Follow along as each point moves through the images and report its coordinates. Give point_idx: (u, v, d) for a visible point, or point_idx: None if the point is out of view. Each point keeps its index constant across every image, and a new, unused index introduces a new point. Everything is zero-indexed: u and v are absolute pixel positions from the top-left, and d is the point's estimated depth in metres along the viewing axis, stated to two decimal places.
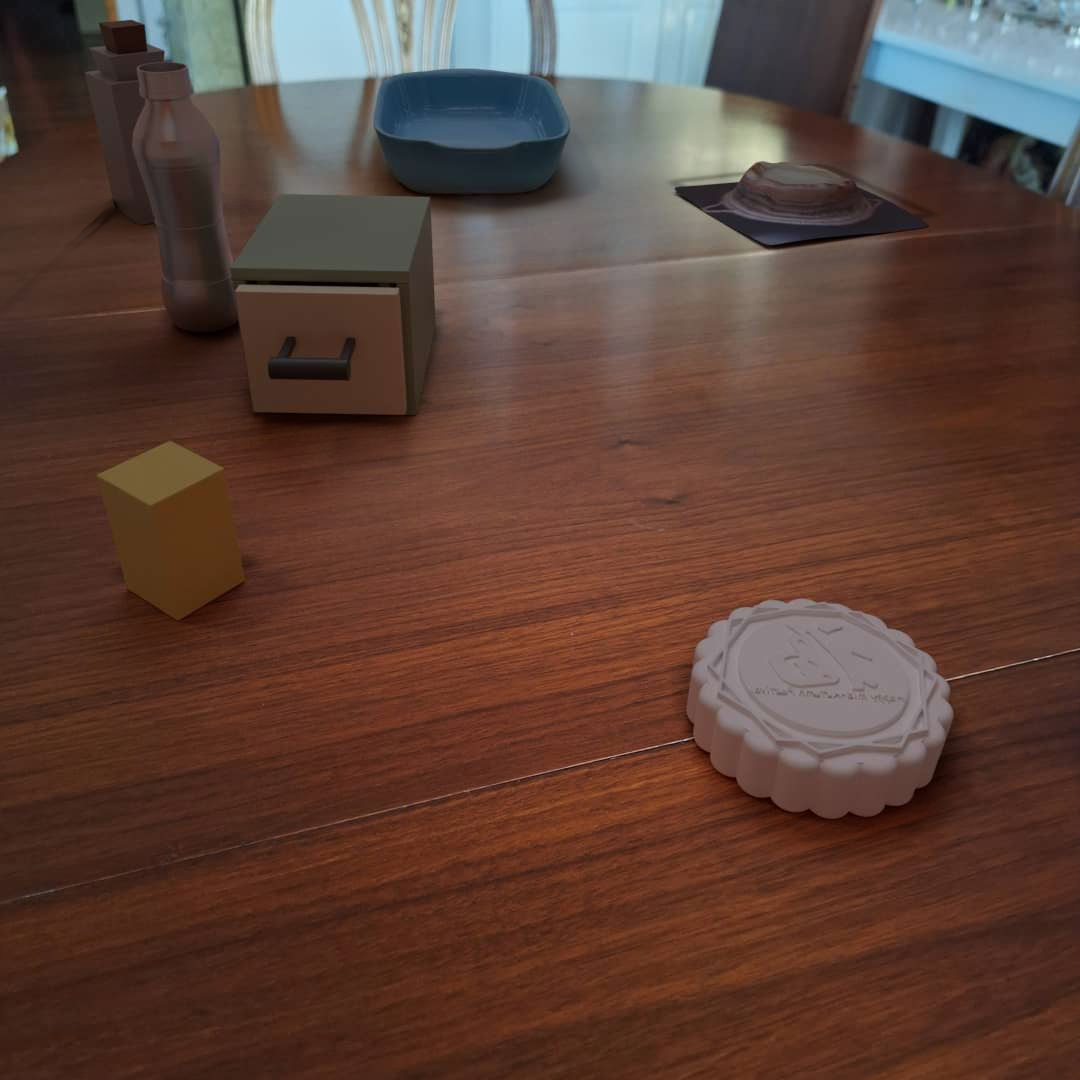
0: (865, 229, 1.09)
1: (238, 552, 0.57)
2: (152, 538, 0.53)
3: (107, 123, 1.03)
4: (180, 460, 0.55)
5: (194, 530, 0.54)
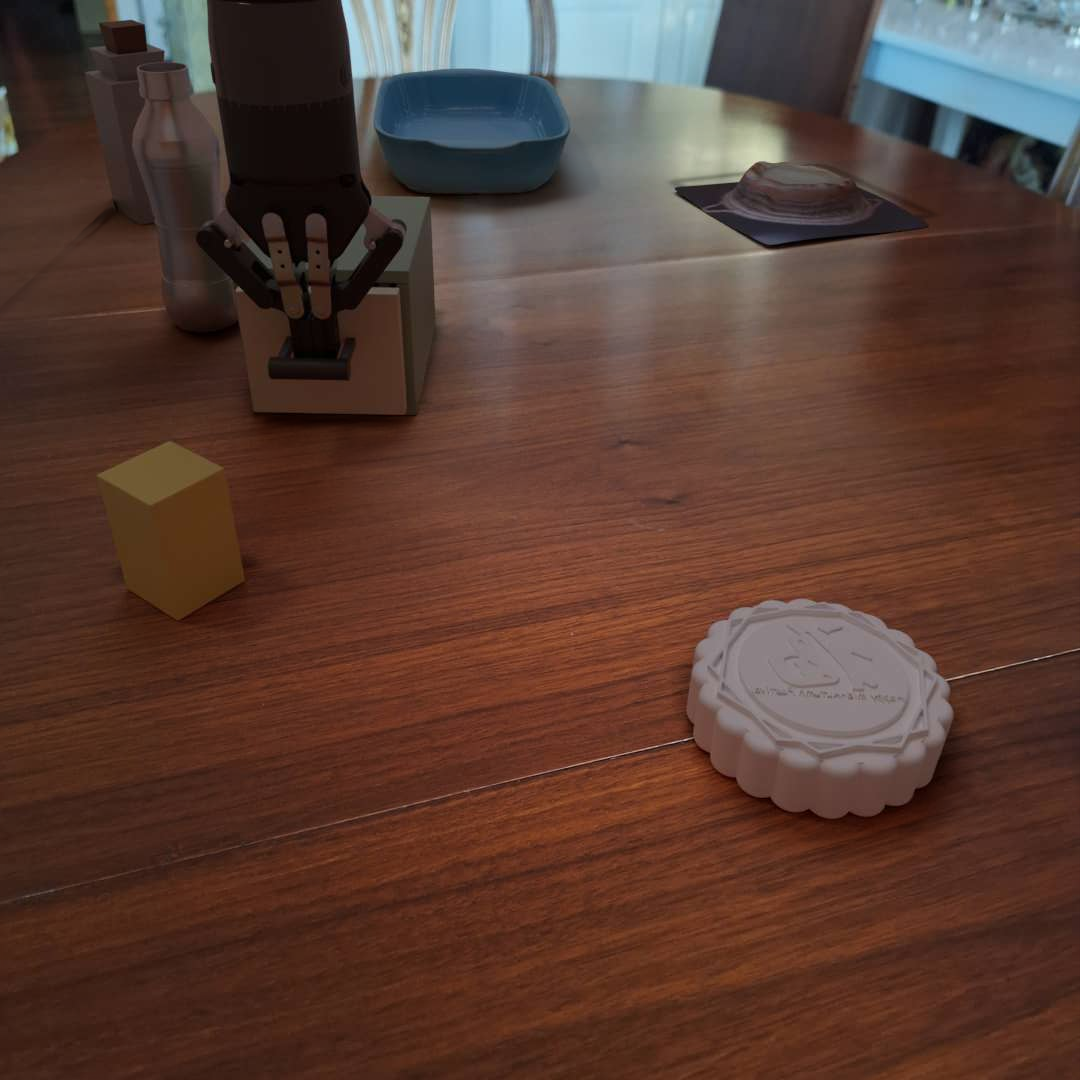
0: (865, 229, 1.08)
1: (238, 552, 0.57)
2: (152, 538, 0.53)
3: (107, 123, 1.03)
4: (180, 460, 0.55)
5: (194, 530, 0.54)
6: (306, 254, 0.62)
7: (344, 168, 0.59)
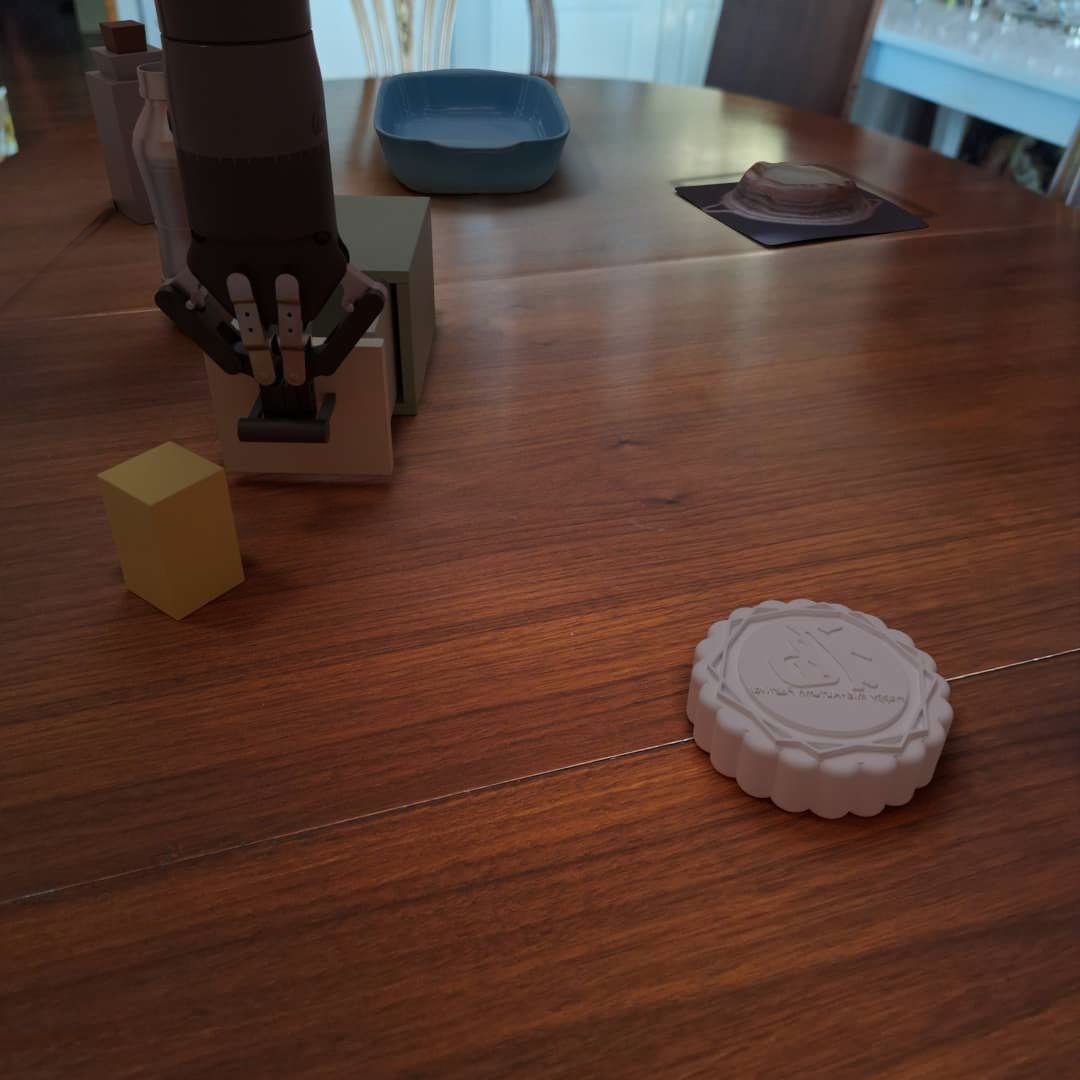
0: (865, 229, 1.09)
1: (238, 552, 0.57)
2: (152, 538, 0.53)
3: (107, 123, 1.03)
4: (180, 460, 0.55)
5: (194, 530, 0.54)
6: (277, 316, 0.56)
7: (317, 225, 0.53)
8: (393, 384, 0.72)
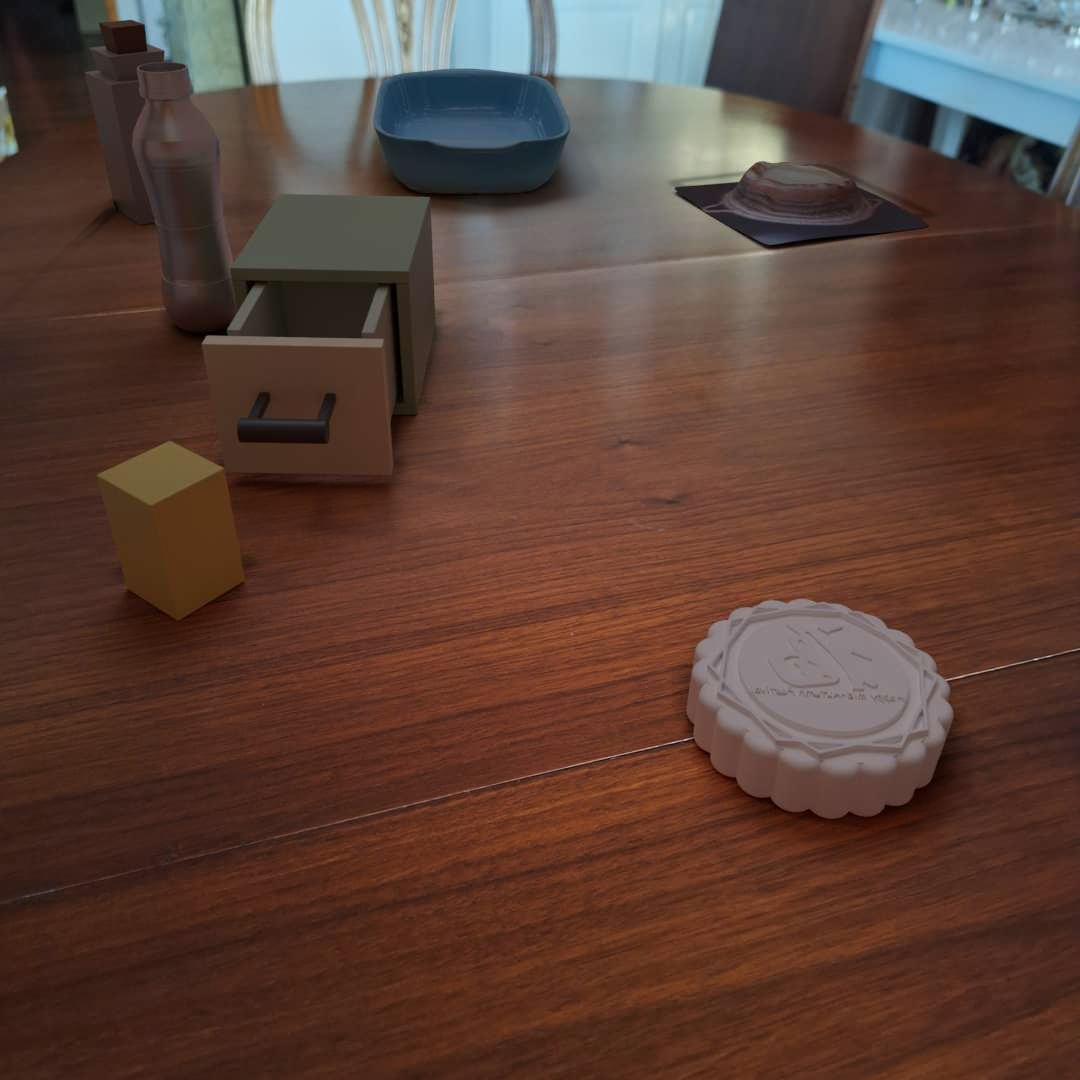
0: (865, 229, 1.09)
1: (238, 552, 0.57)
2: (152, 538, 0.53)
3: (107, 123, 1.03)
4: (180, 460, 0.55)
5: (194, 530, 0.54)
6: None
7: None
8: (393, 384, 0.72)
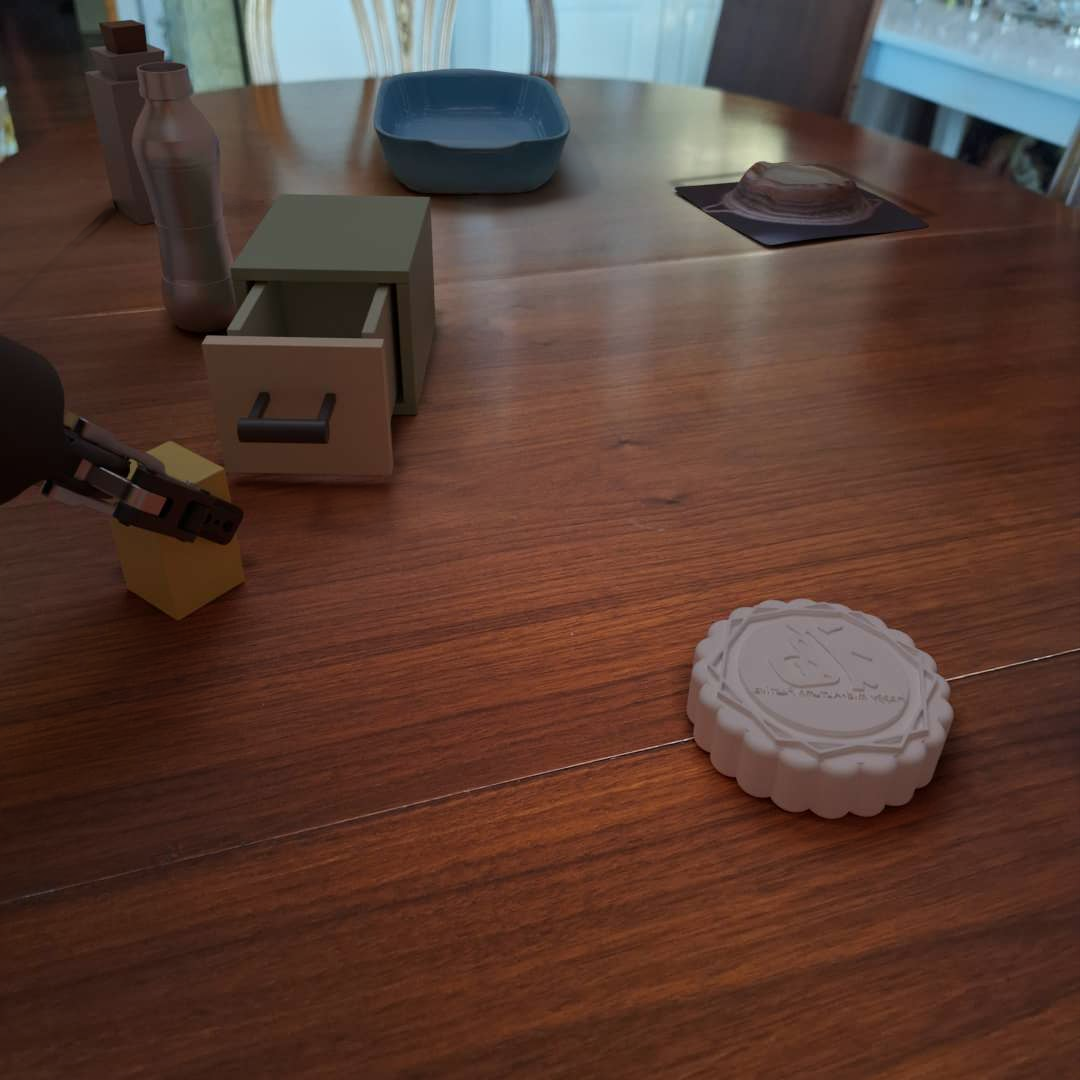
0: (865, 229, 1.09)
1: (238, 552, 0.57)
2: (152, 538, 0.53)
3: (107, 123, 1.03)
4: (180, 460, 0.55)
5: None
6: None
7: (16, 490, 0.44)
8: (393, 384, 0.72)
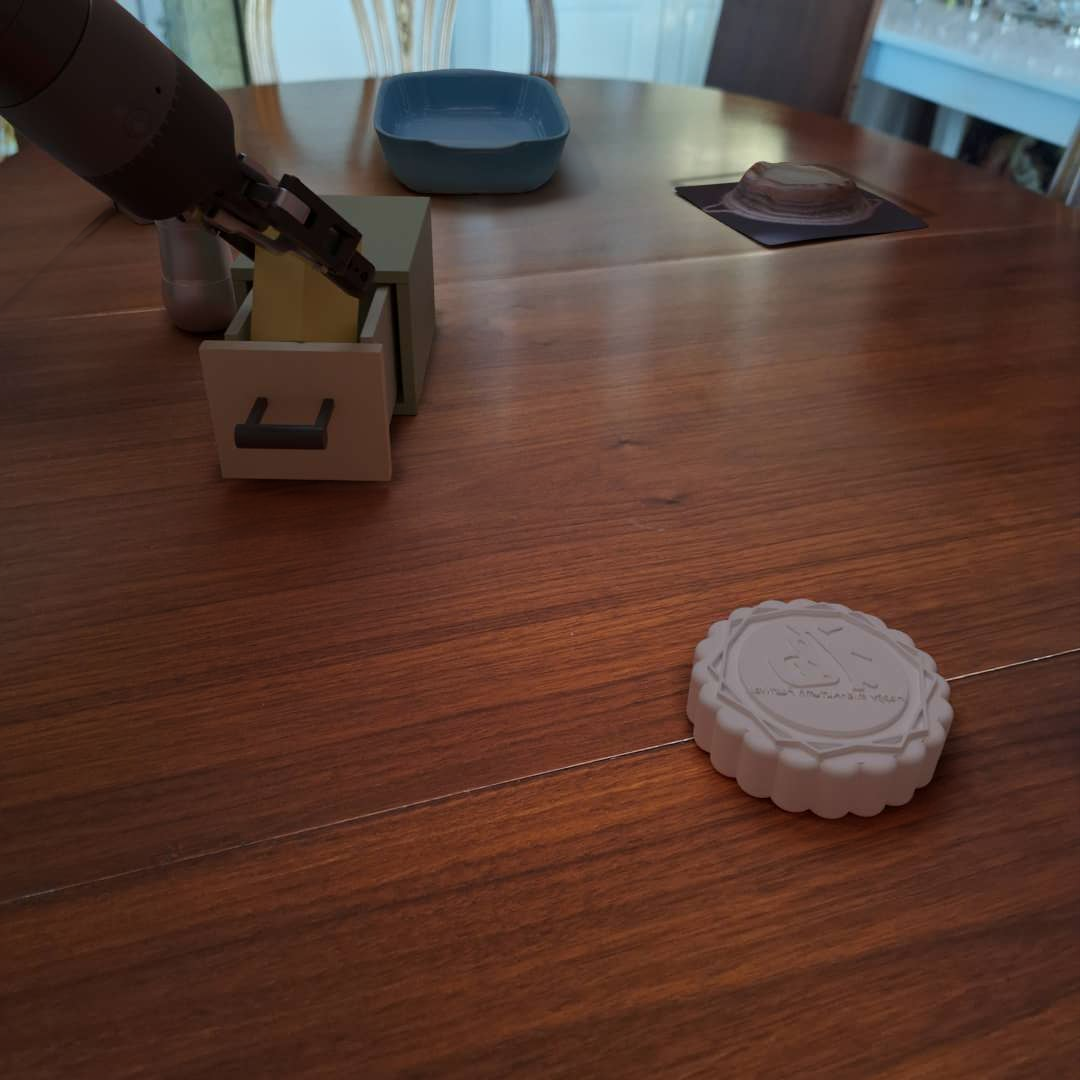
0: (866, 229, 1.09)
1: (356, 320, 0.65)
2: None
3: None
4: None
5: None
6: None
7: (196, 197, 0.51)
8: (392, 389, 0.72)
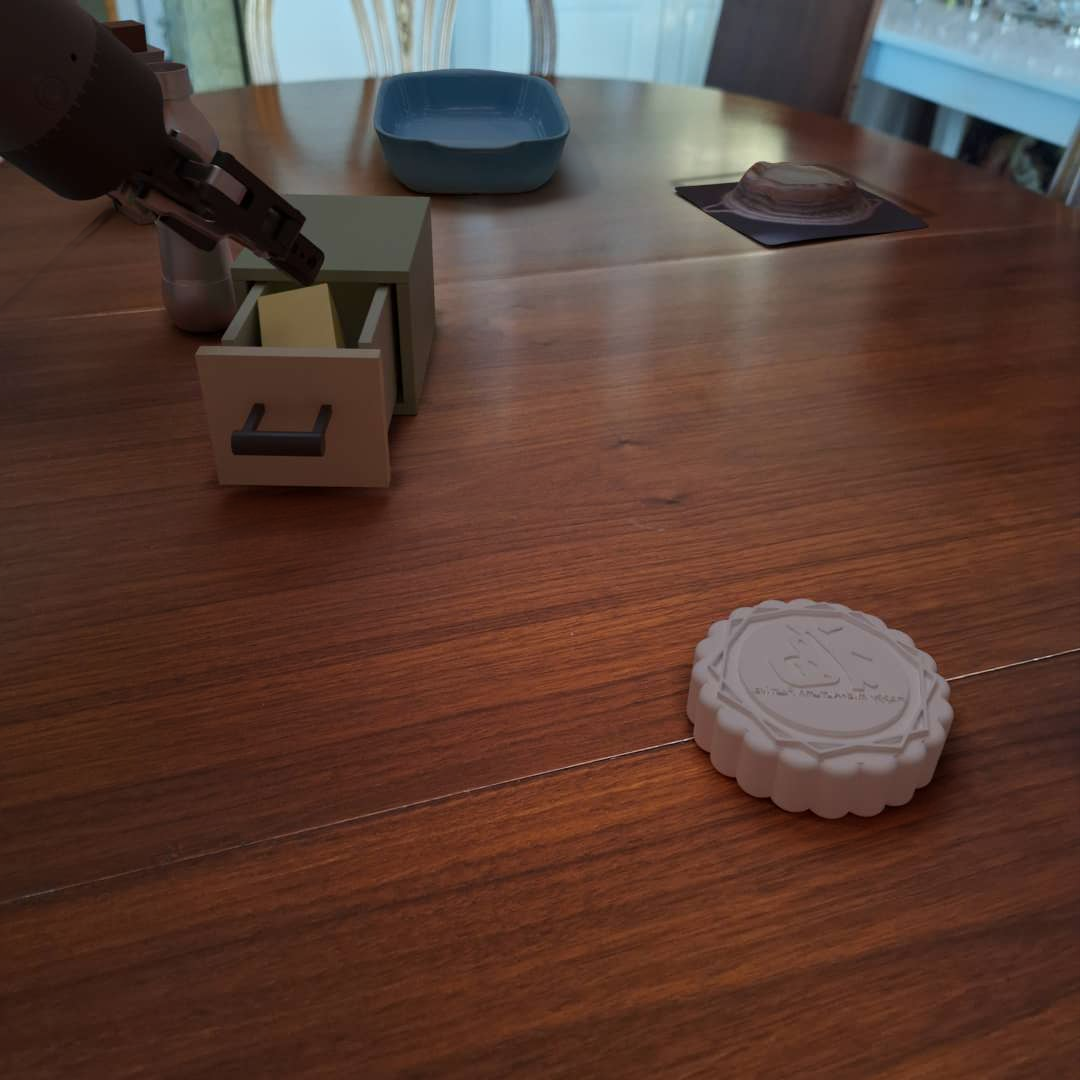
0: (866, 229, 1.09)
1: None
2: (322, 309, 0.66)
3: None
4: None
5: (339, 334, 0.67)
6: None
7: (121, 175, 0.48)
8: (390, 394, 0.71)
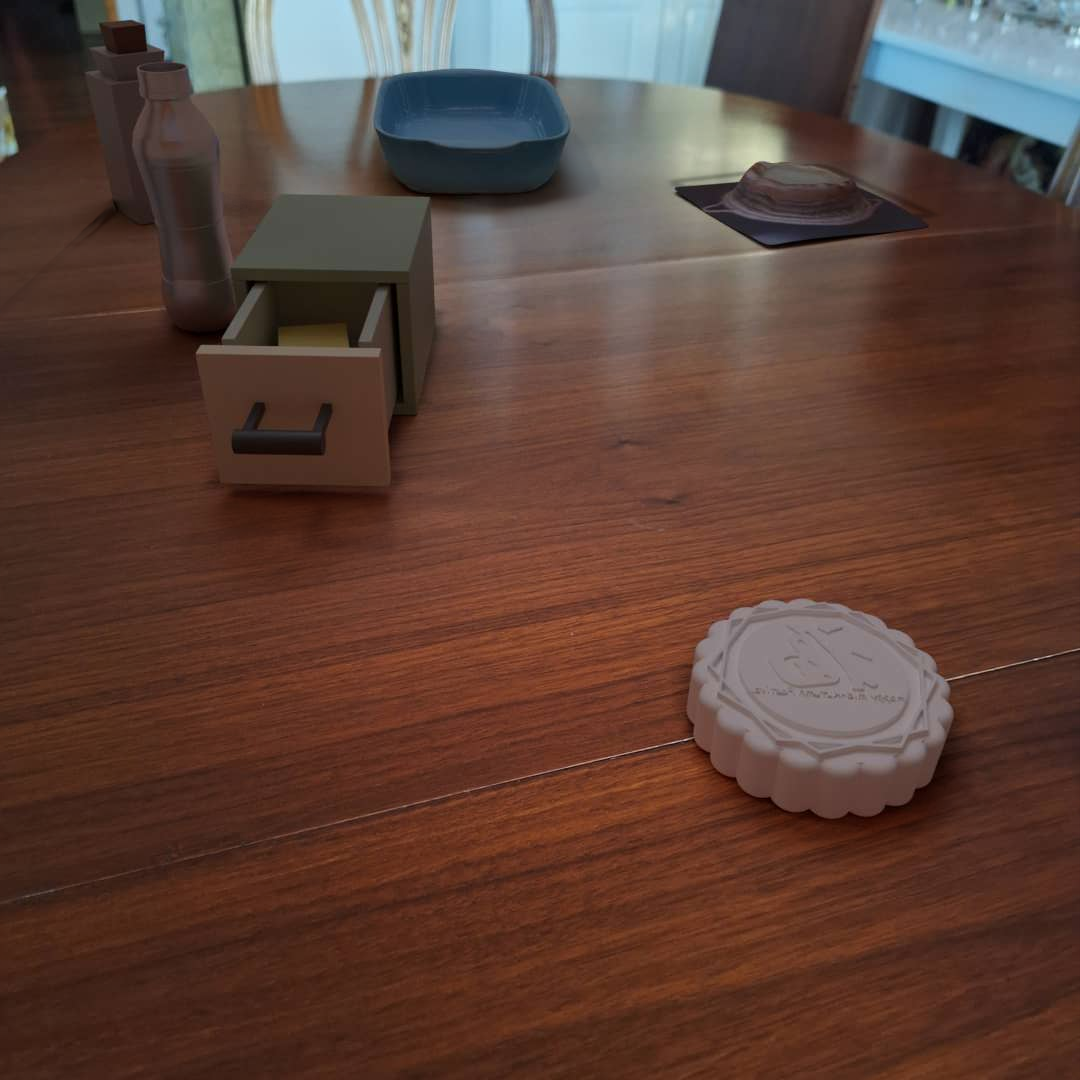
0: (866, 229, 1.09)
1: None
2: (340, 336, 0.70)
3: (107, 123, 1.03)
4: None
5: None
6: None
7: None
8: (391, 393, 0.71)
